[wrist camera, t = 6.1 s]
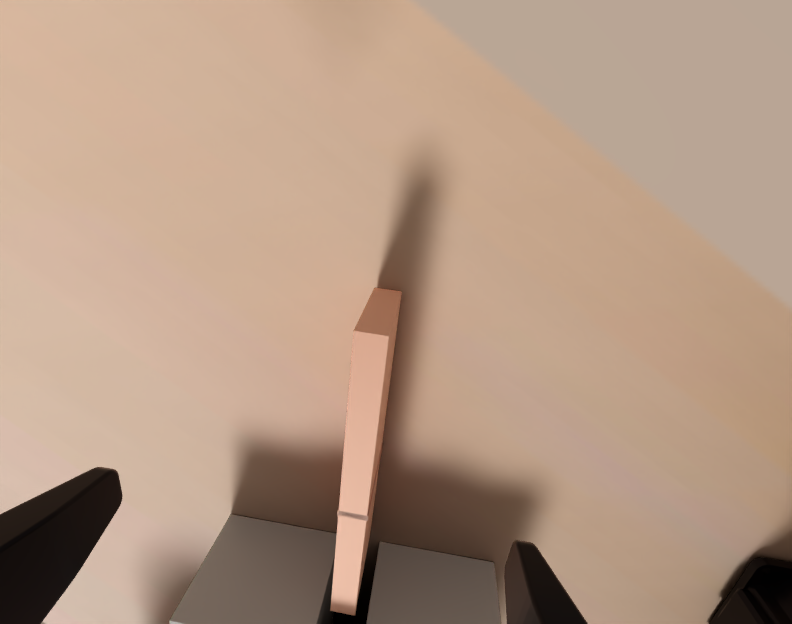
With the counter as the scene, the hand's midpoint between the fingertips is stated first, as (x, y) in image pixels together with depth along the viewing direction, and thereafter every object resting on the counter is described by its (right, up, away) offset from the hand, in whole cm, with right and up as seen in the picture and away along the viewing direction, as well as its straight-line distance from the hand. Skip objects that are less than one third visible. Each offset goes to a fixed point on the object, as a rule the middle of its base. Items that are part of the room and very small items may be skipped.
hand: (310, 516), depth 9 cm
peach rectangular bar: (+1, -1, +12) cm, 12 cm away
